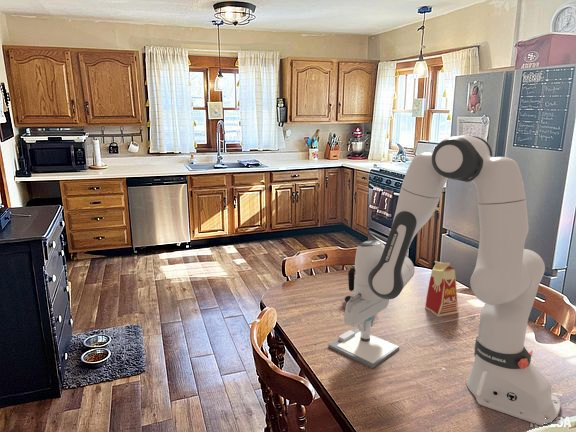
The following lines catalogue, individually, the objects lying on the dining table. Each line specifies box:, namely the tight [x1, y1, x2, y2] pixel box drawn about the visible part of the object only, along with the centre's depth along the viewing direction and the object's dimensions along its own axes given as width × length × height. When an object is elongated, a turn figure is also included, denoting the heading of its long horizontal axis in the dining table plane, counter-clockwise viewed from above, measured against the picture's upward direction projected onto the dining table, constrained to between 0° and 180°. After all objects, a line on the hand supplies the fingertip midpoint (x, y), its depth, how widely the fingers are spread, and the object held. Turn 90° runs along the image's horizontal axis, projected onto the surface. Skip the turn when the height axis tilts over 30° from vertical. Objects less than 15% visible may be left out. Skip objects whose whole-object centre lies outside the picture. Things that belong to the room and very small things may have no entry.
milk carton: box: [424, 260, 459, 318], centre depth 163 cm, size 9×9×20 cm
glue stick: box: [360, 317, 372, 342], centre depth 142 cm, size 3×3×8 cm
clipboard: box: [328, 327, 400, 369], centre depth 139 cm, size 17×15×2 cm
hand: (366, 328), depth 142 cm, fingers closed on glue stick, 3 cm apart
